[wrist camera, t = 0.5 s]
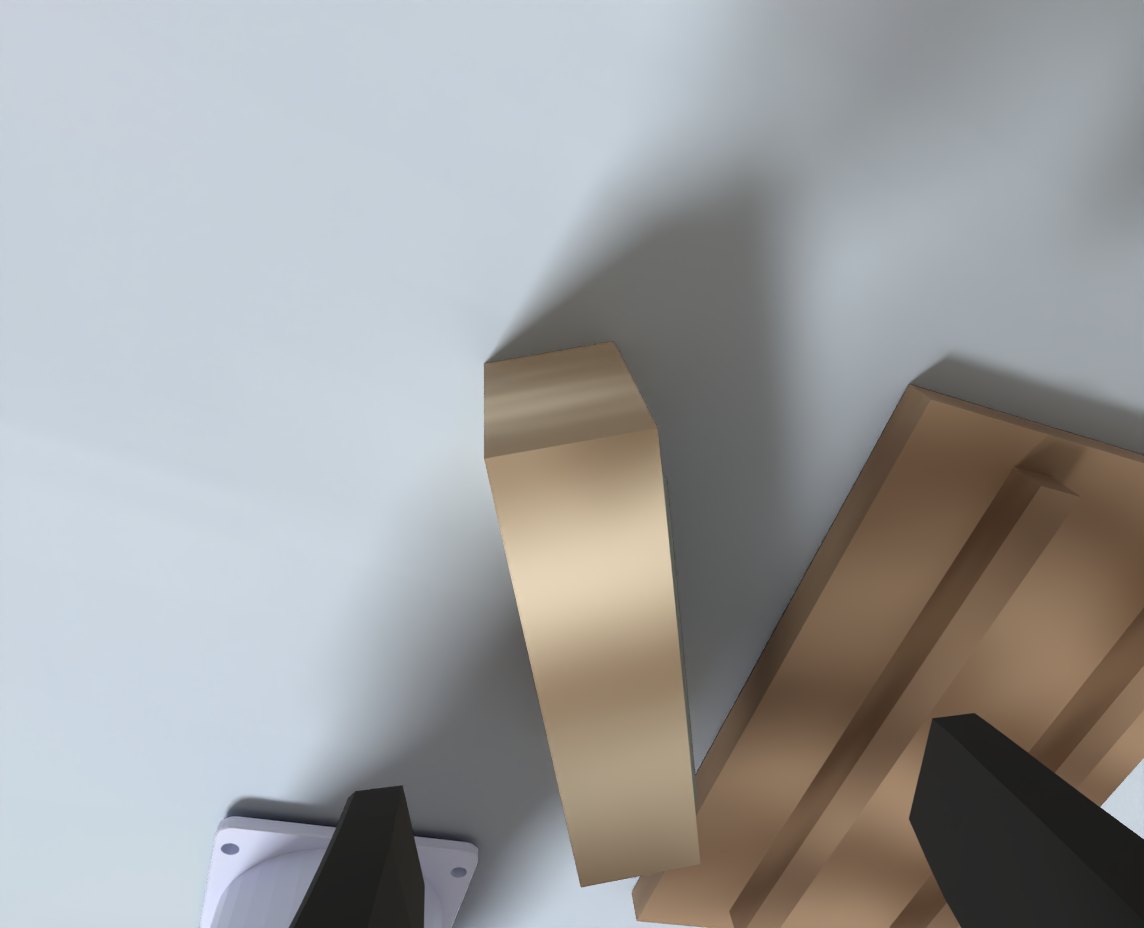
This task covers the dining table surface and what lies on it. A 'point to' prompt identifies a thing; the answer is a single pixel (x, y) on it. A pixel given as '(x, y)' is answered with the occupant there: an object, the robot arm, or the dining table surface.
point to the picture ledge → (922, 668)
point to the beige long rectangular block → (597, 602)
